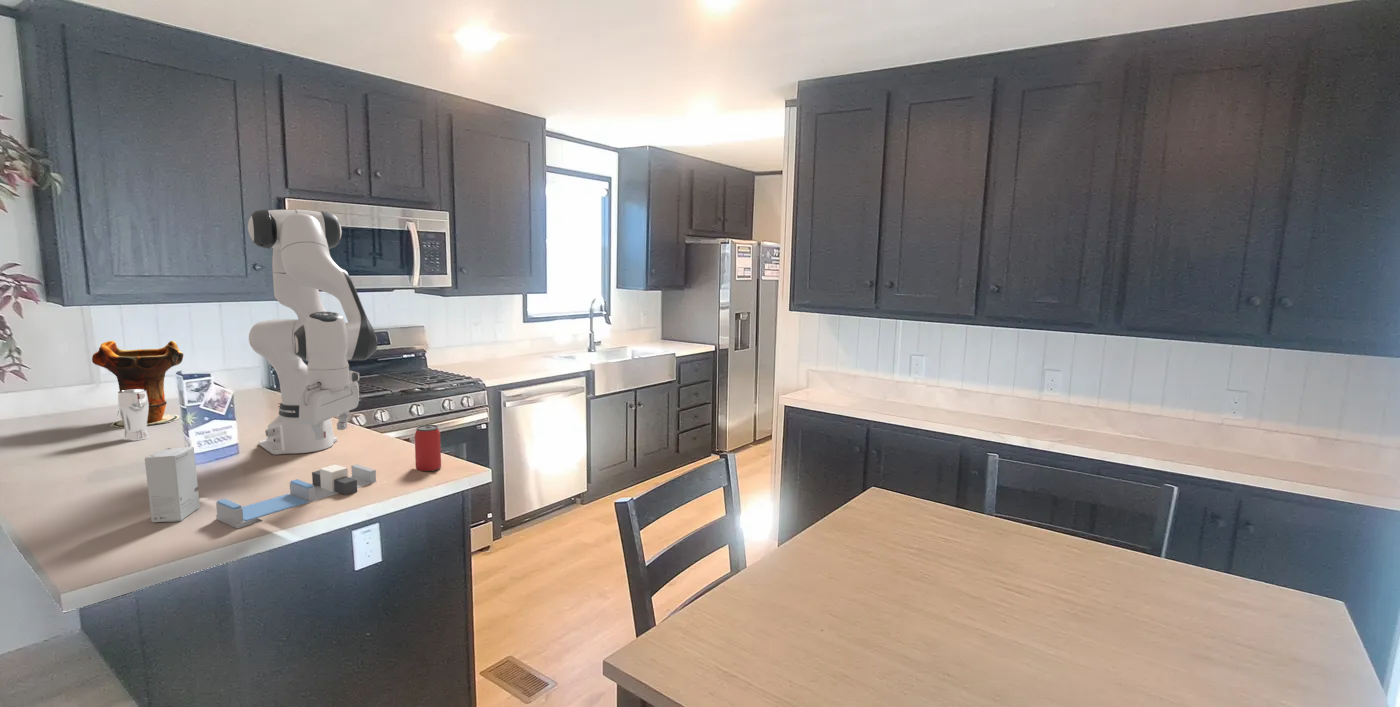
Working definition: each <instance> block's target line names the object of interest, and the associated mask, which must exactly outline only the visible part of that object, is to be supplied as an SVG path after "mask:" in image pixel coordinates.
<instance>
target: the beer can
mask: <svg viewBox="0 0 1400 707" xmlns="http://www.w3.org/2000/svg"><path fill="white" fill-rule="evenodd" d="M441 447H442V446H441V431H440V430H439V426H438V425H436V424H423V425H419V426H417V427H416V431H415V433H414V449H415V450H414V452H415V453H414V454H415V455H414V456H415V457H414V458H415V469H416V470H417V471H419V472H423V473H429V472H430V473H431V472H436V471H437V470H439V469H440V468H441V467H442V454H441V453H442V452H441V450H442V449H441Z"/></svg>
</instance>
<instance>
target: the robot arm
mask: <svg viewBox="0 0 1400 707" xmlns="http://www.w3.org/2000/svg"><path fill="white" fill-rule="evenodd" d="M247 231H248V234H249V237H250V238H251V240H252V243H254V244H255V245H256V246H257V247H259V248H263V249H269V250H271V249H272V264H271V265H272V280H273V282H272V283H273V294H274V295H273V296H274V298H275V299H276V301H277V302H278V303H279V304H281V305H282V306H284V307H287V308H289V309H291V310H292V311H293V312H294V313H295V314H296V316H297V319H292V318H291V319H288V318H287V319H281V318H278V319H277V318H276V319H275V318H274V319H267V320H262V321H257V322H256V323H255V324H254V325H253V326H252V327H251V328H250V330H249V333H248V342H249V345H250V347H251V349H252V350H253V351H254V352H255V353H256V354H258V355H260V356H261V357H263V358H264V359H265V360H266V361H267V362H268V363H269V364H270V365H271V366H272V367H273V369H274V371H275V372H276V376H277V377H278V381H279V388H280V397H281V402H280V403H278V406H277V407H278V416H276V417H275V418H274V420H273V421H271V422H270V423H269V424H268V425H267V429H265V436H266V438H264V439H261V440H259V441H258V445H259V447H262V448H263V449H265V450H266V451H267V452H269V453H270V454H272V455H285V454H305V453H313V452H319V451H322V450H326V449H329V448H330V447H332V446H333V445H334V443H336V442H338V436H335V435H334V430H333V423H332V418H335V417H337V416H339V417H338V422H337V423H336V429H337V431H344V430H346V429H347V428H348V420H349V417H350V411H351V410H354V409H356V408H358V406H359V402H360V386H359V381H360V372H357V371H354V370H351V369H350V364H349V361H365V360H367V359H369V358H370V357H371V356H373V354H375V352H376V351H377V349H378V337H377V334H376V332H375V329H374V326H372V324H371V322H370V320H369V318H368V316H367V314H366V312H365V308H364V306H363V304H362V301H361V299H360V297H359V295H358V292H357V288H356V287H355V285H354V283H353V280H352V278H351V277H350V275H349V273H348V271H346V269H343V268H342V267H340V266H339V265H338V264H337V263H336V262H335V260H334V259H333V258H332V256H331V253H330V250H331V249H334V248H336V246H338V245H340V241H341V238H342V234H343V231H342V226H341V224H340V221H339V218H338V217H337V216H336V215H335V214H334V213H331V212H328V211H323V210H322V211H315V210H307V209H298V208H296V209H295V208H294V209H270V210H269V208H266V209H265V208H264V209H257V210H255V211H253V212H252V213H251V214H250V218H249V220H248V223H247ZM320 291H321V292H325V293H327V294H329V295H331V296H334V297H335V298H336V299H337V300H338V301H339V302H340V306H341V308H342V311H343V313H344V315H345V318H346V320H347V322H345V318H344V316H343V315H342V314H340V313H338V312H332V311H327V310H326V308H325V305H324V304H323V302H322V299H321V296H320ZM304 361H307V364H306V363H305V362H304Z"/></svg>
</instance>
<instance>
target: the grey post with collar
mask: <svg viewBox="0 0 1400 707" xmlns="http://www.w3.org/2000/svg"><path fill="white" fill-rule="evenodd" d="M349 477H350V476H349V473H348V467H345V466H342V465H338V464H336V463H335V464H332V465H328V466H325V467H321V468H319V470H315V471H312V472H311V478H312V480H311V481H312V485H316V486H321V488H323V489H326V490H328V491H331V492H334V491H335V492H338V493H339V494H341V495H344V496H347V495H350V494H355V493H357V492H358V488H357V480H356V479H353V478H349Z"/></svg>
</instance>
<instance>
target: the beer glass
mask: <svg viewBox="0 0 1400 707" xmlns="http://www.w3.org/2000/svg"><path fill="white" fill-rule="evenodd" d="M117 393H118V394H117V405H118V410H119V416H120V418H121V420H122V421H123V424H124V433H123V434H124V436H123V440H124V441H126V442H137V441H144V440H147V439H149V438H150V437H151V434H150V433H149V429H148V425H147V419H148V411H149V402H148V396H147V391H146V389H129V390H123V391H120V390H119V391H117Z"/></svg>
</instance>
